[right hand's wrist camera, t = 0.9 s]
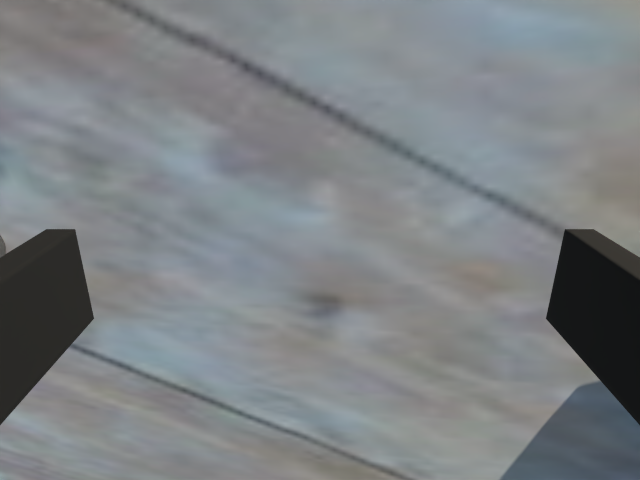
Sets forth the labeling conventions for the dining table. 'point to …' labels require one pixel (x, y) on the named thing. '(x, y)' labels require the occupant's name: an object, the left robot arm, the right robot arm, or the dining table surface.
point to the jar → (2, 247)
